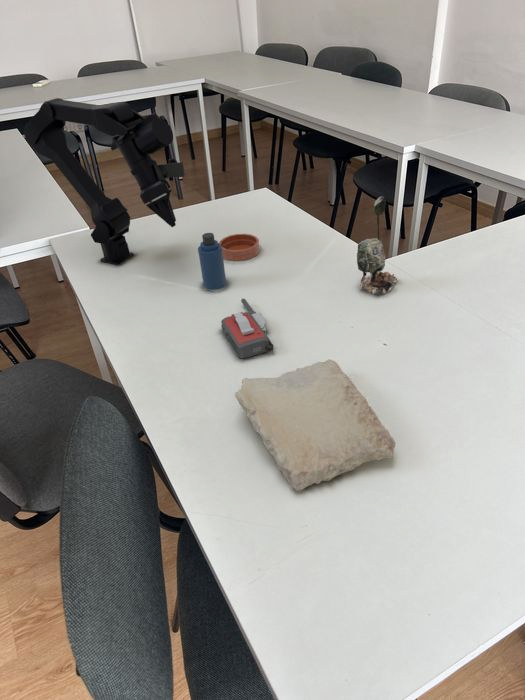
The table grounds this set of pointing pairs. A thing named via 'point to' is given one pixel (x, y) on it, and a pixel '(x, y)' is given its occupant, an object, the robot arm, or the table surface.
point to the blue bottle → (211, 263)
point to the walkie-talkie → (247, 332)
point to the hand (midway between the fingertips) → (174, 224)
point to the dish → (240, 247)
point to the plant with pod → (374, 260)
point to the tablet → (314, 423)
